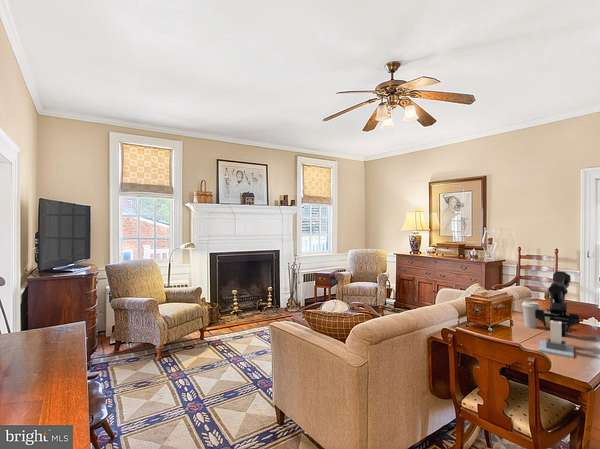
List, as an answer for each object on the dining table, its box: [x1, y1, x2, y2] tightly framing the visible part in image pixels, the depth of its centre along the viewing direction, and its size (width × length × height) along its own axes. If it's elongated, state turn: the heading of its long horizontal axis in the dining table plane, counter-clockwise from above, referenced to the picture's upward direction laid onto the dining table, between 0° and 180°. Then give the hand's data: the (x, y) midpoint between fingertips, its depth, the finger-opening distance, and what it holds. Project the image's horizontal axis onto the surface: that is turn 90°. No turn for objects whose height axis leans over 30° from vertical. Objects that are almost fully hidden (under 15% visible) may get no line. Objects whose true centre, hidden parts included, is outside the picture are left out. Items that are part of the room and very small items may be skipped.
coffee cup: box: [521, 300, 541, 329], centre depth 216 cm, size 10×10×15 cm
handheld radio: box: [544, 310, 571, 332], centre depth 217 cm, size 7×3×25 cm
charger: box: [549, 320, 563, 344], centre depth 177 cm, size 4×4×13 cm
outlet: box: [537, 337, 575, 359], centre depth 177 cm, size 18×14×4 cm
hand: (556, 330), depth 180 cm, fingers open, 9 cm apart
